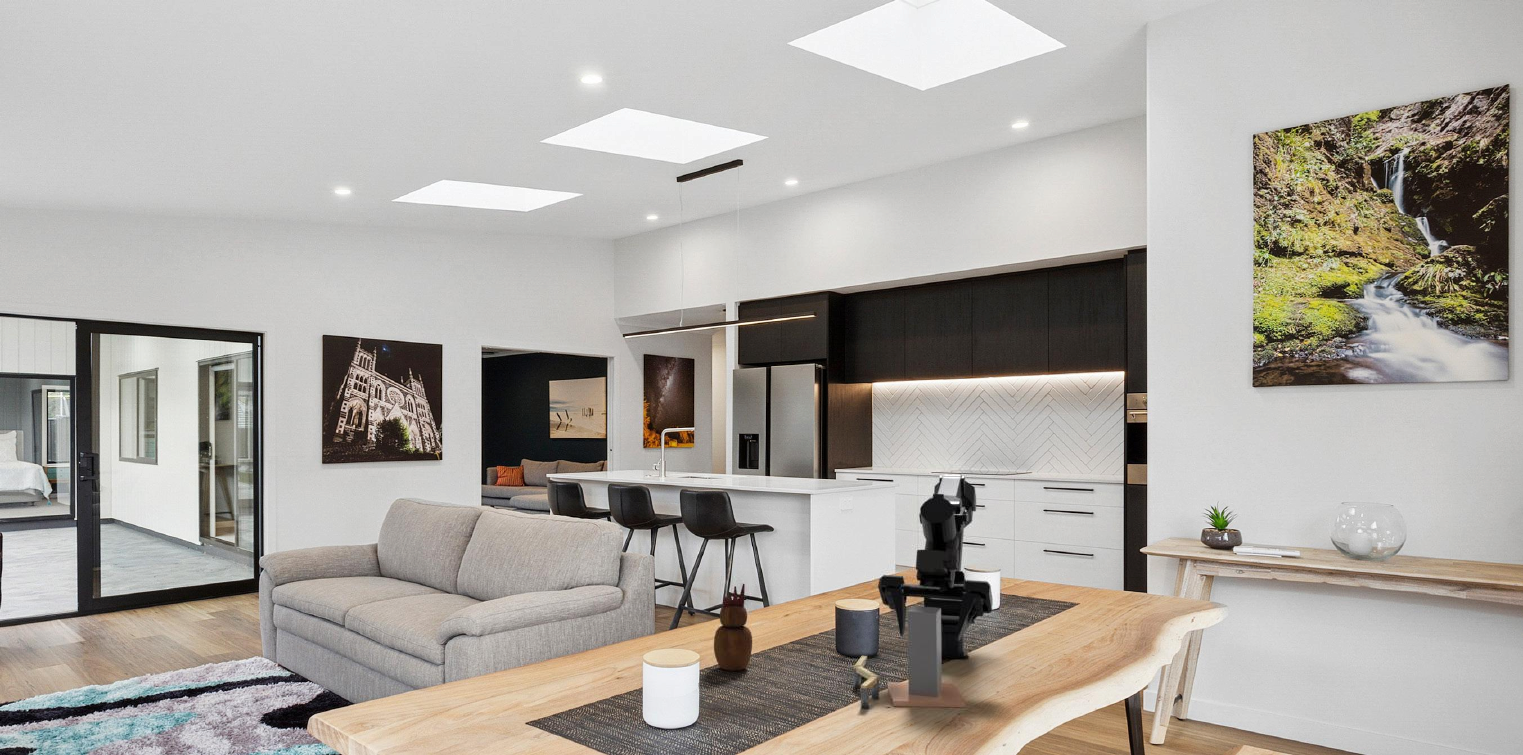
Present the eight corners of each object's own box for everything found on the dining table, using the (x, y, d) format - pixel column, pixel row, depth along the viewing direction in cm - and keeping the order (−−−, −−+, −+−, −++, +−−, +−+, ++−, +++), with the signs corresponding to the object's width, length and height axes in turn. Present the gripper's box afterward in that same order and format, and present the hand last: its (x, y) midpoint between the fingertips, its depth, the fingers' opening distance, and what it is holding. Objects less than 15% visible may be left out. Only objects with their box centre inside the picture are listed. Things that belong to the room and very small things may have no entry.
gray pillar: (908, 694, 142) (907, 611, 143) (913, 686, 146) (913, 606, 147) (937, 697, 141) (936, 613, 141) (941, 689, 145) (940, 607, 145)
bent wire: (851, 675, 156) (851, 655, 156) (873, 676, 155) (873, 655, 156) (857, 708, 137) (857, 685, 138) (882, 709, 137) (881, 686, 137)
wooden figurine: (756, 666, 162) (756, 582, 162) (745, 674, 156) (745, 587, 157) (721, 663, 164) (721, 580, 165) (709, 671, 158) (709, 585, 159)
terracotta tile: (887, 687, 149) (887, 682, 149) (954, 688, 148) (954, 683, 148) (893, 706, 139) (893, 700, 139) (965, 707, 138) (965, 701, 138)
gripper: (880, 528, 156) (864, 604, 146) (989, 533, 150) (982, 613, 139) (890, 566, 163) (876, 642, 153) (995, 572, 157) (988, 652, 146)
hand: (929, 637), depth 147 cm, fingers open, 9 cm apart
